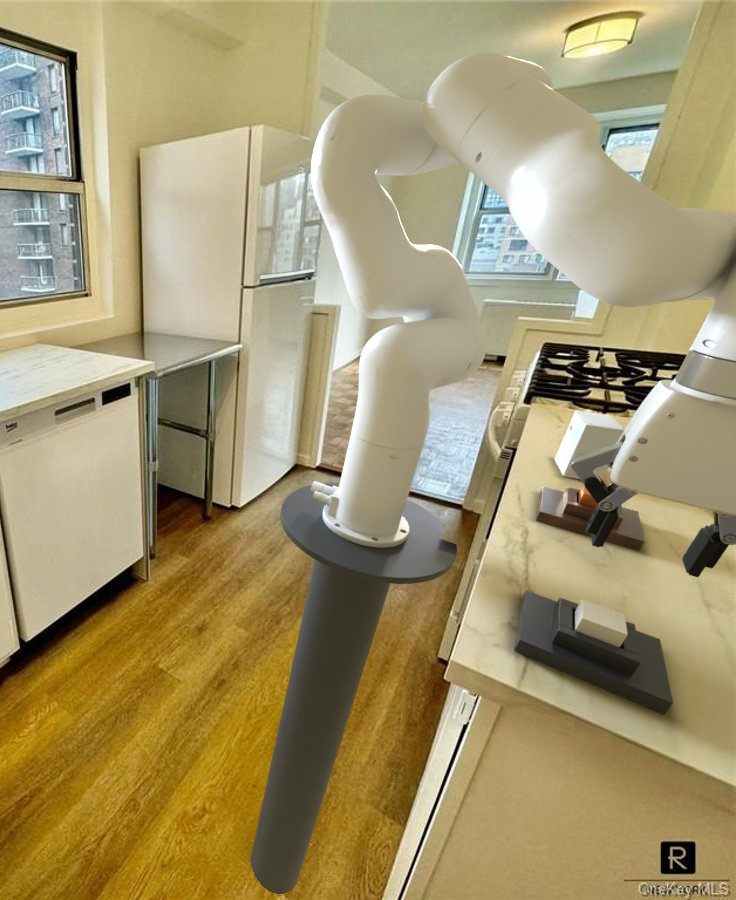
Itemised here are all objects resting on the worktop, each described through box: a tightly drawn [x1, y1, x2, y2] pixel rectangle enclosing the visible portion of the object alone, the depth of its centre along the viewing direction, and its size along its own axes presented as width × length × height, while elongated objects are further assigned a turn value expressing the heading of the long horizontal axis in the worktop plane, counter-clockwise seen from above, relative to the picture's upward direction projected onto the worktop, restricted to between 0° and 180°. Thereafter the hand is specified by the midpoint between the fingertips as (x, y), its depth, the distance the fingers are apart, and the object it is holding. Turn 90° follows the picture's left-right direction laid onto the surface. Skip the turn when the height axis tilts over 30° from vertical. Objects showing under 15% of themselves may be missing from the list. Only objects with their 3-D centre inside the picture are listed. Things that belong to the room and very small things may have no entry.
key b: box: [578, 484, 597, 508], centre depth 74 cm, size 4×4×2 cm
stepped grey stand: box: [514, 590, 674, 715], centre depth 53 cm, size 12×10×4 cm
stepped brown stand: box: [535, 486, 646, 552], centre depth 75 cm, size 12×10×4 cm
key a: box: [574, 599, 628, 648], centre depth 52 cm, size 4×4×2 cm
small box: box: [554, 410, 625, 481], centre depth 88 cm, size 8×6×10 cm
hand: (641, 552), depth 47 cm, fingers open, 6 cm apart
